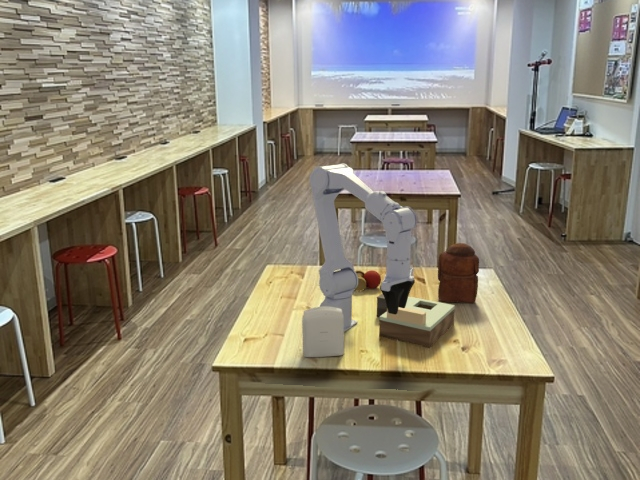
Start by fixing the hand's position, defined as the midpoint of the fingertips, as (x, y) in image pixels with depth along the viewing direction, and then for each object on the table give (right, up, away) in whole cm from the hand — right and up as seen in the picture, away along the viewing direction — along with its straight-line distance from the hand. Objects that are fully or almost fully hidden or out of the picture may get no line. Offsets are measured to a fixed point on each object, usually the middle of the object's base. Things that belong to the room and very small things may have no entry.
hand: (396, 310), depth 152 cm
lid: (+7, -3, +13) cm, 15 cm away
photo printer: (-18, -11, 0) cm, 21 cm away
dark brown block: (0, -4, +24) cm, 25 cm away
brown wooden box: (+7, -7, +14) cm, 17 cm away
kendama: (-8, +1, +48) cm, 49 cm away
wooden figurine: (+23, -1, +37) cm, 43 cm away
